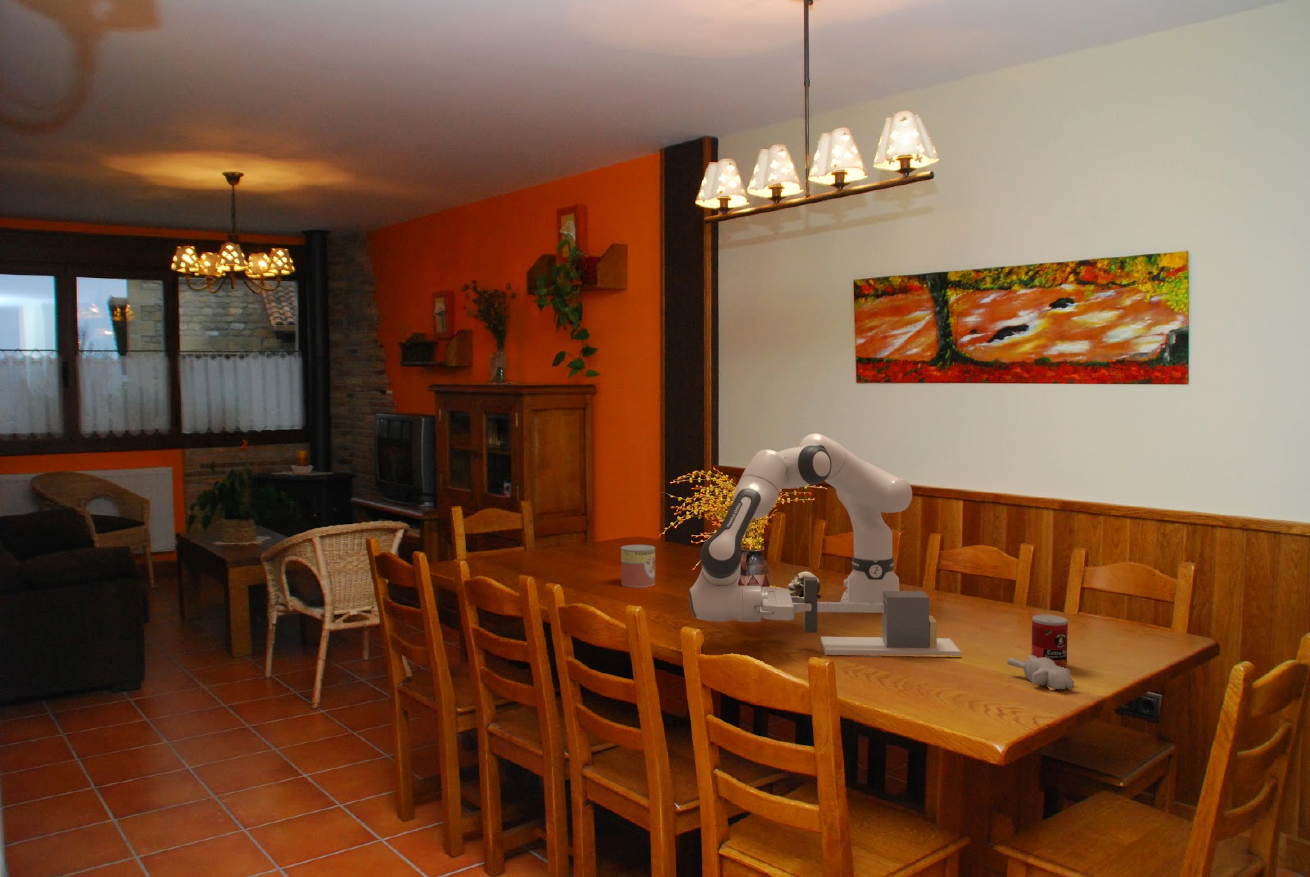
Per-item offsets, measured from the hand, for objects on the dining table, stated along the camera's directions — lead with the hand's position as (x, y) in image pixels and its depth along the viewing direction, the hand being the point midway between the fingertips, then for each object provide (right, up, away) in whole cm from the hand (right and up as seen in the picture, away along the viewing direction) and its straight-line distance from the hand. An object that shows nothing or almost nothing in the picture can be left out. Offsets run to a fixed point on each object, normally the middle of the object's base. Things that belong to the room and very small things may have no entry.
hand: (810, 604), depth 244 cm
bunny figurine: (+47, -13, -27) cm, 55 cm away
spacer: (+29, -10, -2) cm, 31 cm away
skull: (+7, -8, +60) cm, 61 cm away
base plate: (+19, -11, -1) cm, 22 cm away
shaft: (+12, -7, -1) cm, 14 cm away
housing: (+23, -11, -1) cm, 26 cm away
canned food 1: (-44, -7, +80) cm, 92 cm away
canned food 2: (+53, -12, -14) cm, 56 cm away
